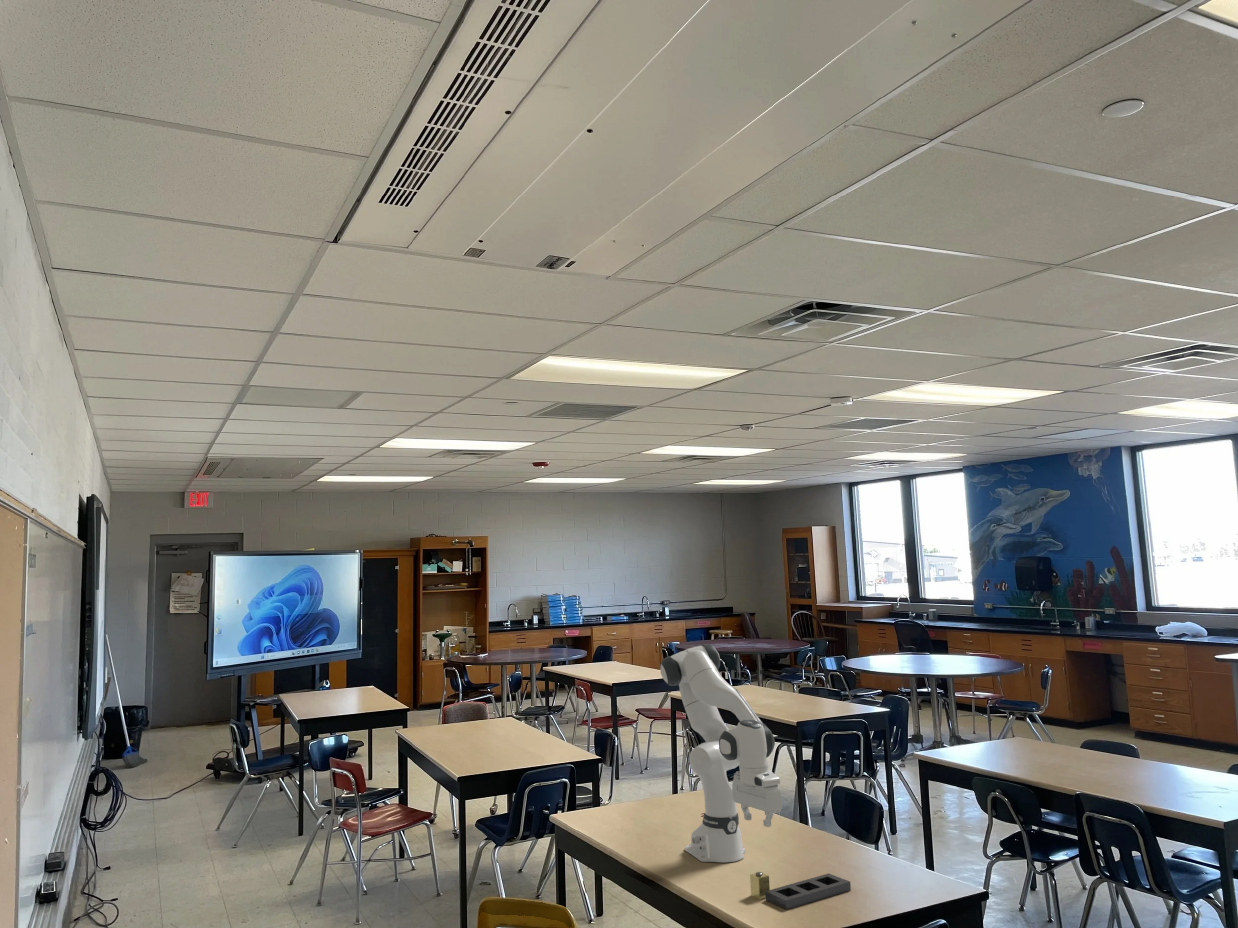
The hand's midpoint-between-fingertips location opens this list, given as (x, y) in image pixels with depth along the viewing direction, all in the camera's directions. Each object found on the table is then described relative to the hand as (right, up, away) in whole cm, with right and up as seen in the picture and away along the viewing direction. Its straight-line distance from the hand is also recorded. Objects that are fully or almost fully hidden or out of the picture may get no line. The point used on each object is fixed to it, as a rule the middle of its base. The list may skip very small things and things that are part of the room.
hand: (757, 822), depth 251 cm
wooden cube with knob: (0, -21, -3) cm, 21 cm away
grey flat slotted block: (+15, -20, -4) cm, 25 cm away
